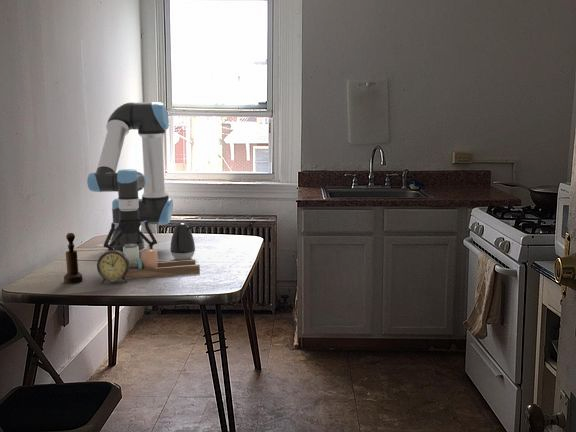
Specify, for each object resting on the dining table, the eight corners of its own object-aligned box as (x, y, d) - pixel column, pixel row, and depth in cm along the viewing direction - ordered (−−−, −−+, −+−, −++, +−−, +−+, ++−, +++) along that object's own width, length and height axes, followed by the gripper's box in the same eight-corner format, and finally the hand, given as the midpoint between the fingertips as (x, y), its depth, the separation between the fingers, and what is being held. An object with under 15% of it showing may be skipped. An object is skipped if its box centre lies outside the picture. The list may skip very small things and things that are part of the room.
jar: (123, 268, 270) (122, 243, 269) (138, 267, 272) (137, 242, 271) (124, 271, 265) (123, 246, 263) (140, 270, 267) (139, 245, 265)
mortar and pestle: (63, 280, 252) (60, 232, 250) (81, 278, 255) (78, 230, 252) (65, 284, 246) (61, 235, 244) (83, 282, 249) (80, 233, 246)
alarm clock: (97, 285, 245) (95, 240, 242) (100, 281, 250) (97, 237, 248) (128, 284, 246) (126, 239, 243) (130, 280, 251) (128, 236, 249)
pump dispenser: (191, 262, 279) (189, 225, 277) (167, 261, 282) (165, 224, 279) (199, 256, 289) (198, 221, 287) (176, 256, 291) (174, 220, 289)
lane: (119, 273, 262) (119, 265, 262) (194, 266, 271) (194, 259, 271) (121, 279, 253) (121, 271, 252) (199, 272, 261) (199, 265, 261)
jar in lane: (141, 272, 263) (140, 249, 261) (157, 271, 265) (156, 248, 263) (142, 276, 257) (141, 252, 256) (159, 274, 259) (158, 251, 258)
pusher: (121, 272, 261) (120, 259, 260) (140, 271, 263) (139, 258, 262) (122, 277, 254) (121, 263, 253) (142, 275, 256) (141, 262, 256)
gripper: (95, 212, 258) (98, 267, 261) (162, 209, 265) (164, 262, 268) (95, 210, 265) (97, 263, 268) (160, 206, 272) (162, 259, 275)
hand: (131, 263), depth 268 cm, fingers open, 13 cm apart
